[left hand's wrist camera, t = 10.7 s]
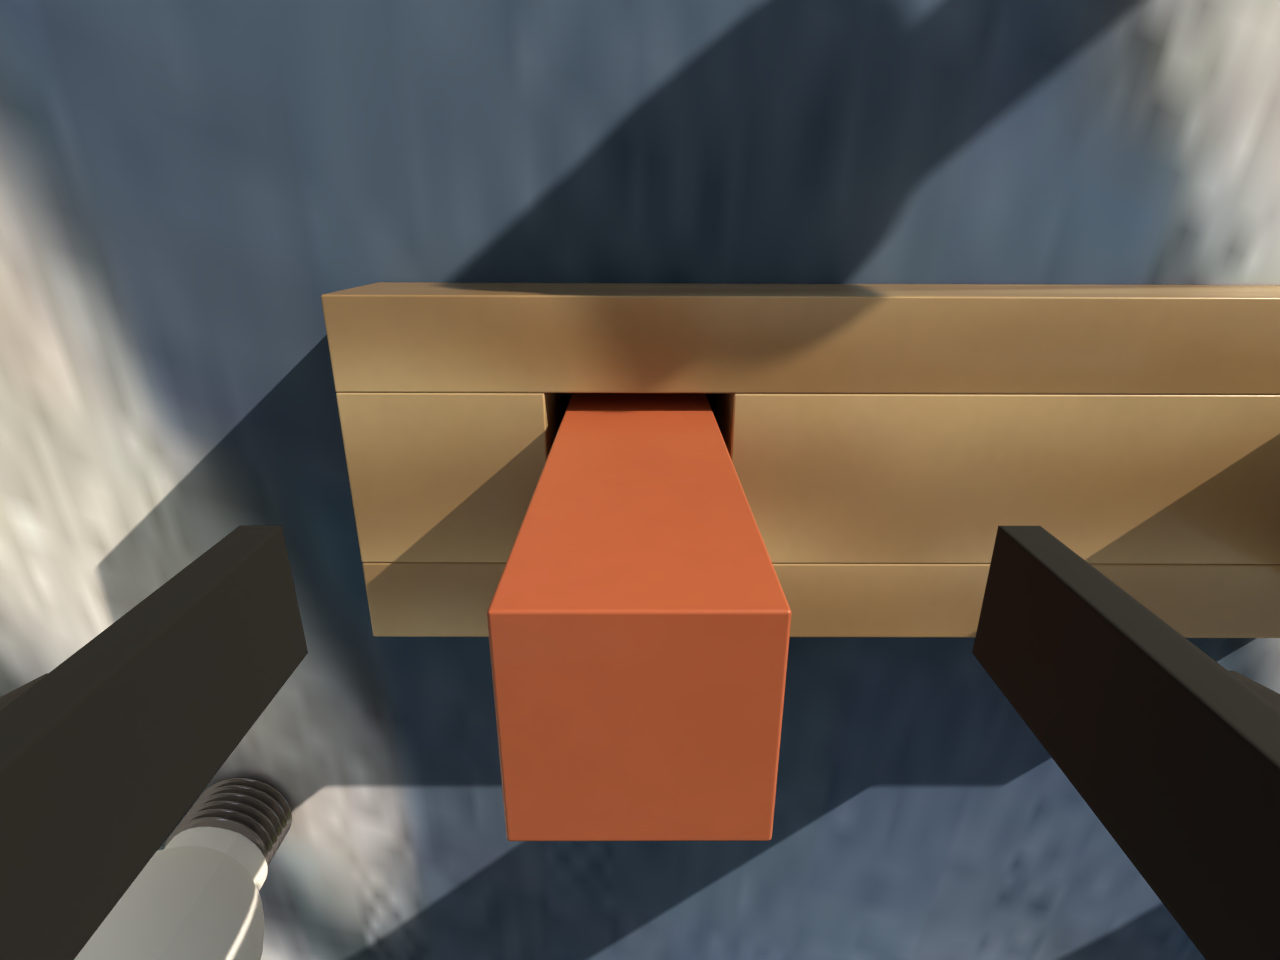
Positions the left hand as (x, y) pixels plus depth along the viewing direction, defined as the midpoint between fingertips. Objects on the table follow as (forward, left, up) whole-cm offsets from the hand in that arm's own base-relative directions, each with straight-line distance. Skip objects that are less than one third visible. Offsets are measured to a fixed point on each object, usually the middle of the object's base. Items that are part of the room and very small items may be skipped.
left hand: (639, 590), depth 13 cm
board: (0, +9, -10) cm, 14 cm away
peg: (0, 0, -10) cm, 10 cm away
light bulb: (+16, -16, -10) cm, 25 cm away
